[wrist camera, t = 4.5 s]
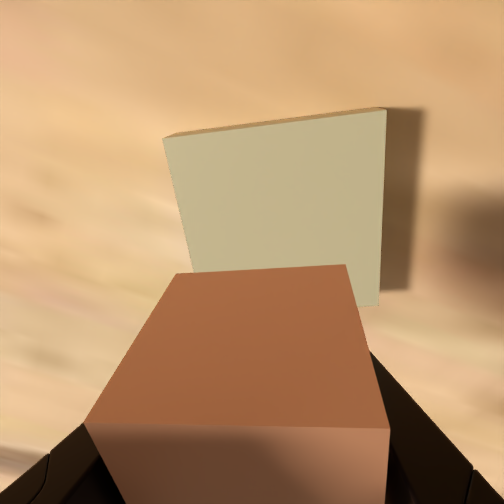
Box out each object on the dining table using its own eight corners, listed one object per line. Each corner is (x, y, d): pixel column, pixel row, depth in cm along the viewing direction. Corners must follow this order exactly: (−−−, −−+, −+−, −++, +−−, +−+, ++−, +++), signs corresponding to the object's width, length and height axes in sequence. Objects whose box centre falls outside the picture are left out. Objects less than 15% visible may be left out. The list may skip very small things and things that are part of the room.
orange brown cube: (346, 390, 10) (378, 584, 6) (206, 390, 11) (157, 563, 7) (345, 263, 8) (390, 429, 4) (175, 273, 9) (83, 422, 5)
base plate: (371, 286, 20) (378, 305, 18) (210, 294, 22) (203, 312, 20) (376, 106, 16) (387, 109, 14) (175, 133, 17) (162, 138, 16)
